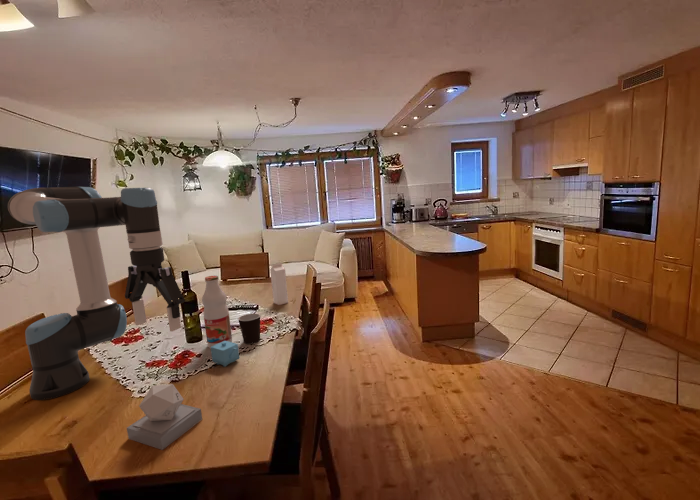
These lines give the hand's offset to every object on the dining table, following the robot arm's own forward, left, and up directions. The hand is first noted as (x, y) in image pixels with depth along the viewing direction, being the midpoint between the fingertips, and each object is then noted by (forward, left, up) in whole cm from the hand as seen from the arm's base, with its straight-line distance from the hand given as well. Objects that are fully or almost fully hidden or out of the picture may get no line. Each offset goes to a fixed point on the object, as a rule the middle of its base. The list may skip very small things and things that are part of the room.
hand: (157, 326), depth 95 cm
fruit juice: (-20, +40, -25) cm, 51 cm away
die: (+6, -6, -21) cm, 23 cm away
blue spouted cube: (-5, +28, -25) cm, 38 cm away
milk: (-28, +94, -25) cm, 101 cm away
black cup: (-10, +48, -25) cm, 55 cm away
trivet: (+6, -6, -25) cm, 26 cm away
